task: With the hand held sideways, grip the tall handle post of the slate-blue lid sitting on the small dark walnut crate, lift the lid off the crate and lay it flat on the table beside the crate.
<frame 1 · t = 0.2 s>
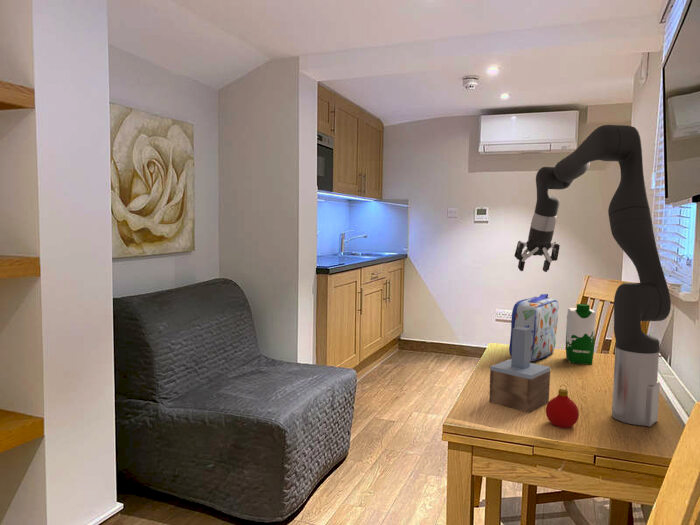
hand: (532, 270, 180), 31 cm above the table, tool tilted 20°, fingers open, 8 cm apart
milk carton: (578, 361, 180), on the table
christmas ornament: (561, 427, 121), on the table
lunch box: (533, 356, 186), on the table
lid: (520, 370, 135), point 9 cm above the table, touching crate
crate: (518, 404, 136), on the table
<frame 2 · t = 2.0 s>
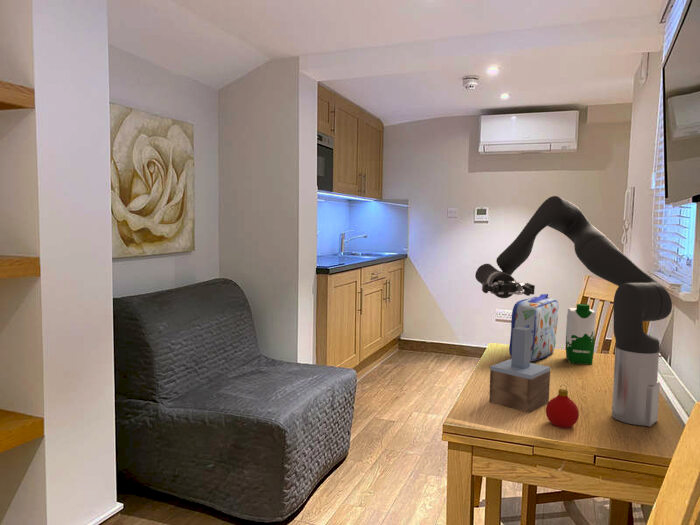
hand: (513, 291, 145), 28 cm above the table, tool horizontal, fingers open, 8 cm apart
nothing on the table moved.
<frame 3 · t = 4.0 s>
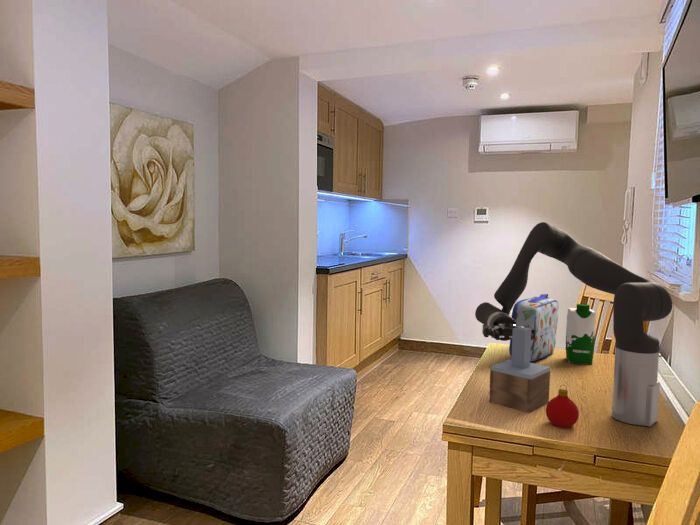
hand: (514, 337, 143), 16 cm above the table, tool horizontal, fingers open, 8 cm apart
nothing on the table moved.
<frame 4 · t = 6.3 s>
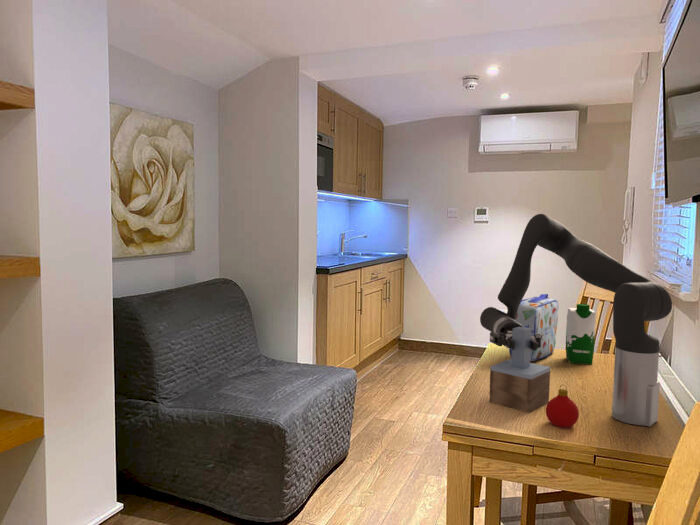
hand: (524, 346, 132), 16 cm above the table, tool horizontal, fingers closed on lid, 4 cm apart
lid: (520, 370, 135), point 9 cm above the table, touching crate, gripper
everything else where it was.
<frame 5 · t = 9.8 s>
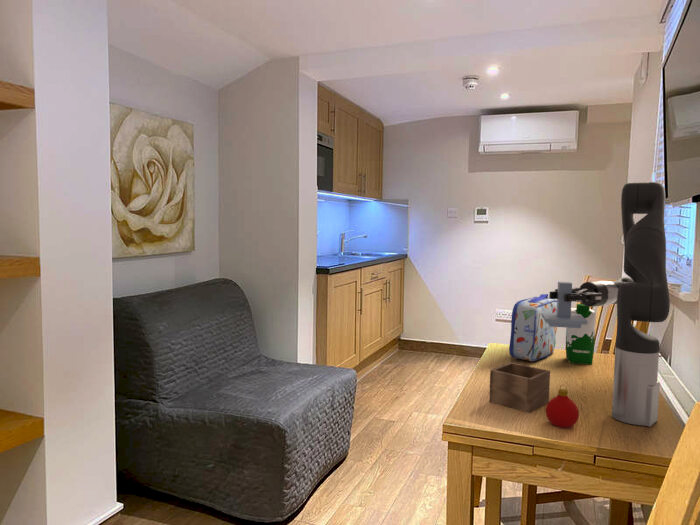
hand: (557, 296, 151), 26 cm above the table, tool horizontal, fingers closed on lid, 4 cm apart
lid: (563, 319, 153), point 19 cm above the table, touching gripper
everything else where it was.
when the fingers open (10 cm above the table, at t = 13.1 s): lid drops 1 cm, point 1 cm above the table.
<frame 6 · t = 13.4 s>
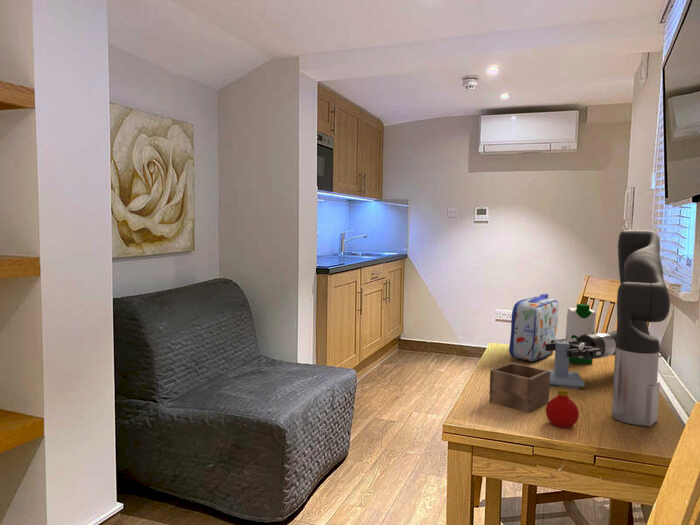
hand: (556, 350, 153), 10 cm above the table, tool horizontal, fingers open, 7 cm apart
lid: (560, 379, 154), point 1 cm above the table
everything else where it was.
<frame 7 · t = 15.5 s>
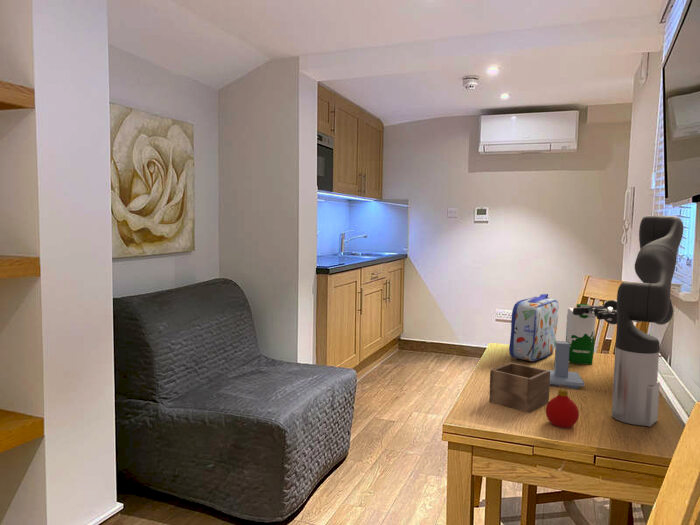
hand: (585, 313, 157), 20 cm above the table, tool horizontal, fingers open, 8 cm apart
nothing on the table moved.
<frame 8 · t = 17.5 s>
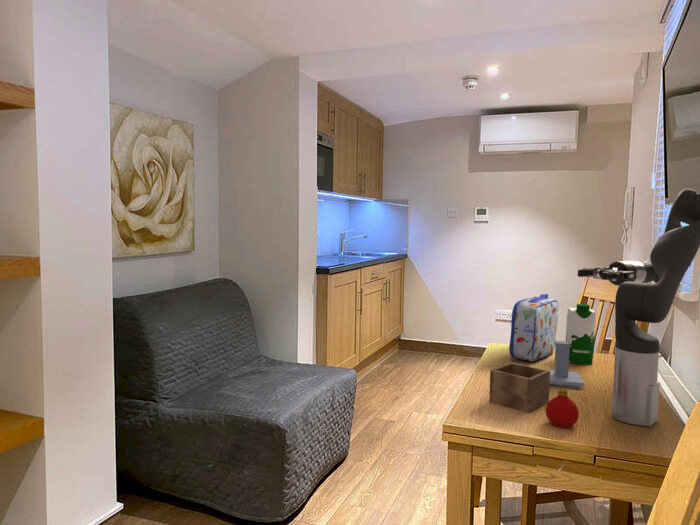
hand: (590, 274, 157), 32 cm above the table, tool horizontal, fingers open, 8 cm apart
nothing on the table moved.
at the end: lid inside the target area (0.1 cm from its centre), point 1.3 cm above the table; lid tilted 0°; lid touching table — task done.
